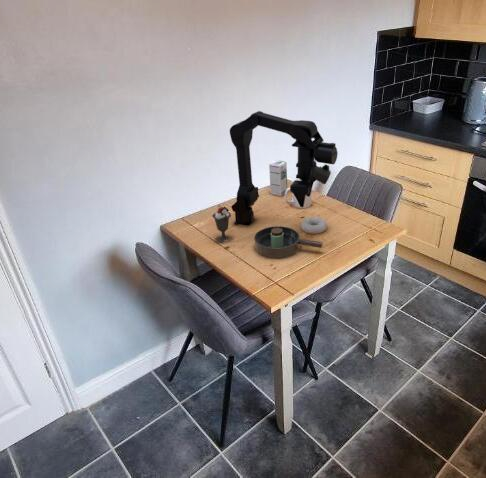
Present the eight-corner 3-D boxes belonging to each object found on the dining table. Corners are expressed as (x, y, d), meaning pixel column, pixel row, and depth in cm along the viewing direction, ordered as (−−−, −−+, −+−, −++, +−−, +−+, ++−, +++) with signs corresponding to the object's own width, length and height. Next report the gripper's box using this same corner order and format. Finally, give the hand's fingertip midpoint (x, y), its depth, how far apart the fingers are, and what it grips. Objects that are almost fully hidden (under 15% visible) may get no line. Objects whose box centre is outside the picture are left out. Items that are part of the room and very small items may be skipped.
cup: (314, 206, 183) (315, 184, 178) (289, 211, 179) (288, 189, 174) (306, 198, 190) (306, 177, 185) (281, 204, 186) (280, 182, 181)
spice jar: (269, 248, 153) (268, 232, 149) (273, 242, 156) (272, 226, 153) (281, 250, 151) (281, 234, 148) (285, 244, 155) (285, 228, 152)
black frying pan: (248, 255, 150) (247, 244, 147) (264, 234, 163) (263, 223, 161) (292, 263, 145) (292, 251, 143) (305, 240, 158) (305, 229, 156)
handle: (297, 245, 150) (297, 240, 149) (299, 242, 151) (299, 237, 150) (321, 249, 147) (321, 244, 146) (322, 246, 149) (322, 241, 148)
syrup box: (281, 196, 193) (280, 165, 185) (270, 193, 195) (268, 163, 188) (287, 191, 197) (287, 161, 190) (276, 189, 199) (275, 159, 192)
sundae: (218, 245, 156) (214, 208, 149) (212, 237, 161) (208, 201, 154) (235, 241, 159) (232, 204, 151) (228, 233, 164) (225, 197, 156)
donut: (298, 234, 162) (325, 236, 160) (298, 226, 160) (325, 228, 159) (303, 222, 171) (328, 224, 169) (303, 214, 169) (328, 216, 167)
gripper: (323, 171, 137) (321, 215, 145) (334, 153, 152) (332, 193, 160) (289, 168, 140) (289, 211, 148) (304, 150, 155) (303, 190, 163)
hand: (305, 201), depth 155 cm, fingers open, 9 cm apart
